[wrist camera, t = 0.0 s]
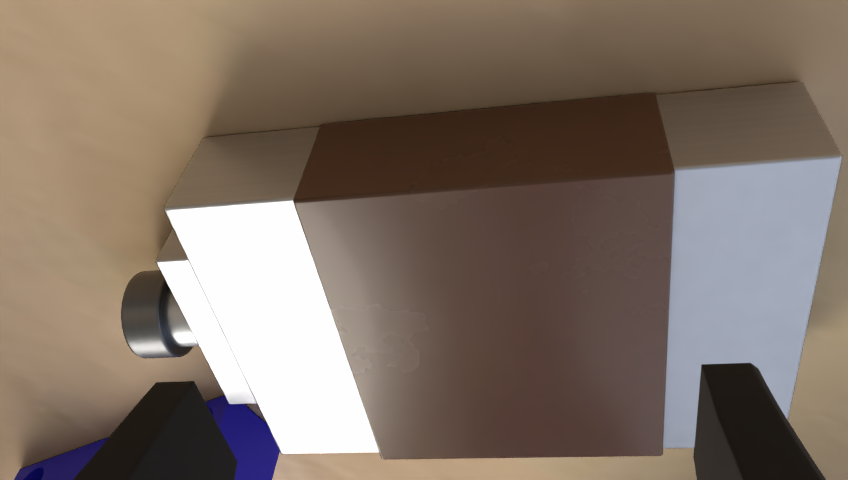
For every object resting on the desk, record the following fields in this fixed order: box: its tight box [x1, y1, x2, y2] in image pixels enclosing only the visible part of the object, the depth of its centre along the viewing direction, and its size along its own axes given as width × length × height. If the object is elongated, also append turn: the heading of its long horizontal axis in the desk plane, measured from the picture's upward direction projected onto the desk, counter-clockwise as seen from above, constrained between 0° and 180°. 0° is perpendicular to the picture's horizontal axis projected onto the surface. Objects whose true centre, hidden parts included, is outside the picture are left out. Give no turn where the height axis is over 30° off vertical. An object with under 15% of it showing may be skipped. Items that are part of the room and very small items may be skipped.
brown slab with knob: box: [121, 82, 842, 459], centre depth 22 cm, size 10×18×3 cm, turn 100°
